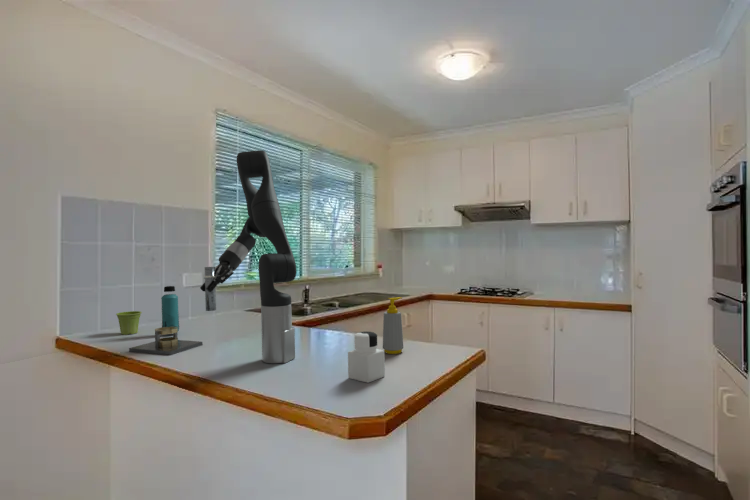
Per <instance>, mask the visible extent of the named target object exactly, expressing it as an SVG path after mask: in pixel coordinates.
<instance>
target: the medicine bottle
mask: <svg viewBox="0 0 750 500" xmlns="http://www.w3.org/2000/svg"><path fill="white" fill-rule="evenodd" d="M385 363H386V360H385V351H384V349H379V348H378V334H377V333H375V332H373V331H360V332H357V333H355V334H354V349H353V350H349V351H348V352H347V376H348V377H347V378H348V379H351V380H355V381H359V382H363V383H367V384H368V383H372V382H375V381H377V380H379V379H382V378H384V377H385V376H386V367H385Z"/></svg>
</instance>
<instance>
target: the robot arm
mask: <svg viewBox="0 0 750 500" xmlns="http://www.w3.org/2000/svg"><path fill="white" fill-rule="evenodd" d="M270 163H271V162H270V159H269V156H268V153H267V152H266V151H265V150H249V151H241V152H238V154H237V155H236V166H237V167H236V168H237V171H238V176H239V180H240V184H241V188H242V191H243V194H244V197H245V201H246V209H247V215H248V218H247V219H246V220H245V222H244V225H243V228H242V230H241V231H240V234H239V235H238V236H237V237H236V239H235V240H234V241H233V242H232V243H231V244H230V245H228V247H227V248H226V250H225V251H224V252H223V253H222V254H221V255H220V256H219V257H218V262H219V263H218V264H217V265H216V266H214V267H215V278H214V279H213V281H212V282H211V283H210V284H209V285H208V286H207V288H206V290H207V291H209V292H212V290H213V289H214V288H215V287H217V286H218V285H222V284H223V283H225V282H226V281H227V280H228V279H229V278H230V277H232V275H233V274H234V271H236V270H237V268H238V267H239V266H240V265H241V264H242V262H243V261H244V260H245V258H246V257H247V255H248V254H249V253H250V252H251V251H252V249H253V248H254V247H255V245H256V239H255V237H254V236H253V235H255V236H257V237H260V238H262V239H263V238H266V239H267V240H268V241H269V242H271V244H272V246H273V247H274V249H275V251H276V252H275V253H274V252H271V253H263V254H261V256H259V259H258V260H259V261H258V278H259V280H258V281H259V295H260V313H261V314H260V315H261V318H260V320H261V360H262V362H263V363H267V364H286V363H288V362H290V361H291V360H293V359H294V360H295V358H296V338H295V335H296V333H295V332H296V331H295V330H296V329H295V328H294V327H293V324H292V323H293V322H292V321H293V317H292V316H293V315H292V296H291V294H288V293H284V292H282V291H279V290H277V289H276V288H275V286H274V285H275V284H277V283H278V284H279V283H290V282H293V281H294V280H295V279H296V277H297V264H296V260H295V256H294V253H293V250H292V247H291V245H290V242H289V240H288V237H287V233H286V229H285V225H284V224H285V223H284V220H283V215H282V211H281V207H280V204H279V200H278V196H277V192H276V189H275V186H274V185H275V183H274V181H273V174H272V167H271V164H270ZM255 178H262V179H261V183H260V186H259V188H256V186H255V185H253V183H252V182H251V181H250V179H255ZM252 234H253V235H252ZM203 279H204V280H205V277H204V278H203ZM199 290H201V291H202V292H205V281H204V282H203V283H202V285H200V288H199Z"/></svg>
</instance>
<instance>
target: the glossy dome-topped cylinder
mask: <svg viewBox="0 0 750 500" xmlns="http://www.w3.org/2000/svg"><path fill="white" fill-rule="evenodd" d="M215 267H216V266H205V267H204V278H205V279H204V282H205V291H204V293H205V294H204V295H205V298H204V299H205V301H204V302H205V312H214V311H217V293H216V291H217V290H216V289H217V288H216V287H217V286H216V287H215V288H214V289H213V290H212V292H209V291H207V290H206V288H207V286H208V285H209V284H210V283H211V282H212V281H213V279H214V278H215Z"/></svg>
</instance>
